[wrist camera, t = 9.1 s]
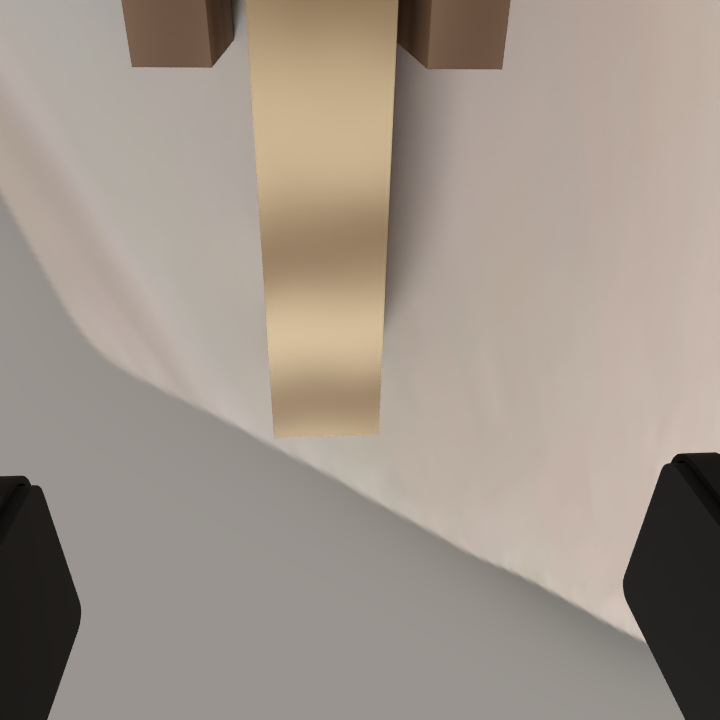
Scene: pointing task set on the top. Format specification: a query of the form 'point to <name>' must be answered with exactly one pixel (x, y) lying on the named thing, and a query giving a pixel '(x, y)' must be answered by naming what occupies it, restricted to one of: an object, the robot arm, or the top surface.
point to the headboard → (414, 32)
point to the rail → (323, 204)
